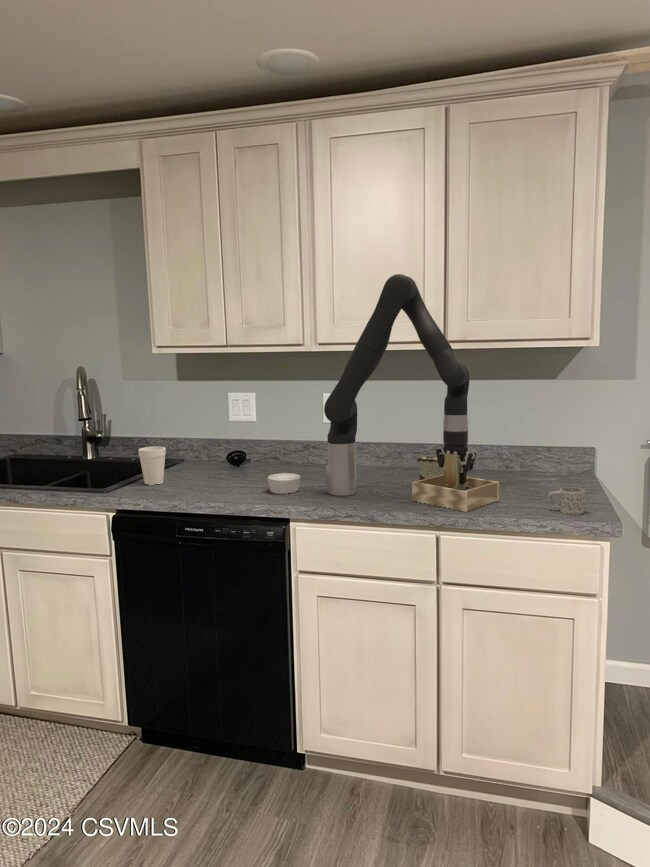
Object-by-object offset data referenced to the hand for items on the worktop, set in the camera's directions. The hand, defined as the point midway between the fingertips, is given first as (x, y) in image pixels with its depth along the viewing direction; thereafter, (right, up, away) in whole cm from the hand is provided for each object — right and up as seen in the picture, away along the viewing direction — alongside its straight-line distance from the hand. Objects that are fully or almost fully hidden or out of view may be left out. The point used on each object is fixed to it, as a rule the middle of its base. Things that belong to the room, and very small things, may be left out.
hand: (455, 482), depth 210 cm
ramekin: (-55, -5, +19) cm, 58 cm away
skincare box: (0, -3, +1) cm, 3 cm away
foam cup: (-103, -3, +35) cm, 109 cm away
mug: (+29, -8, -14) cm, 33 cm away
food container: (-2, -3, +23) cm, 24 cm away
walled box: (0, -6, +1) cm, 6 cm away
